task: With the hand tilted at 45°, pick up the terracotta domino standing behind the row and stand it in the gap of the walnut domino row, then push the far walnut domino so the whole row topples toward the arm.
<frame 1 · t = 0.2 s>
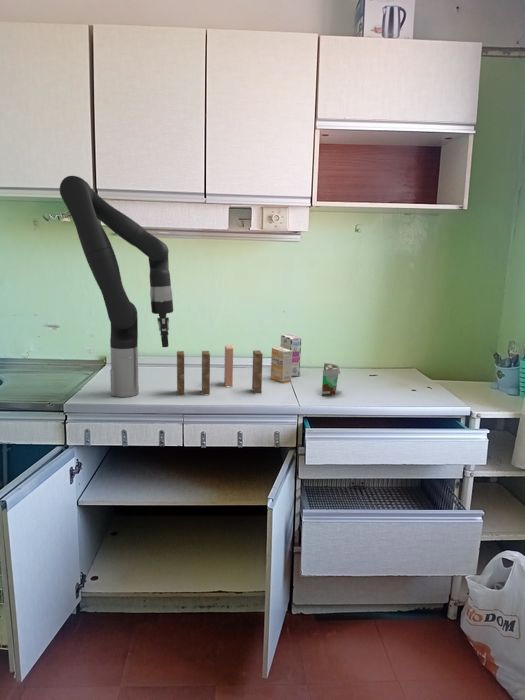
hand: (165, 344, 175), 18 cm above the worktop, tool pointing down, fingers open, 8 cm apart
middle walnut tile: (205, 392, 180), on the worktop
near walnut tile: (180, 393, 179), on the worktop
candy bar box: (289, 374, 211), on the worktop
supplement box: (280, 380, 201), on the worktop
food container: (330, 393, 185), on the worktop
far walnut tile: (256, 391, 184), on the worktop
terracotta tile: (228, 384, 192), on the worktop
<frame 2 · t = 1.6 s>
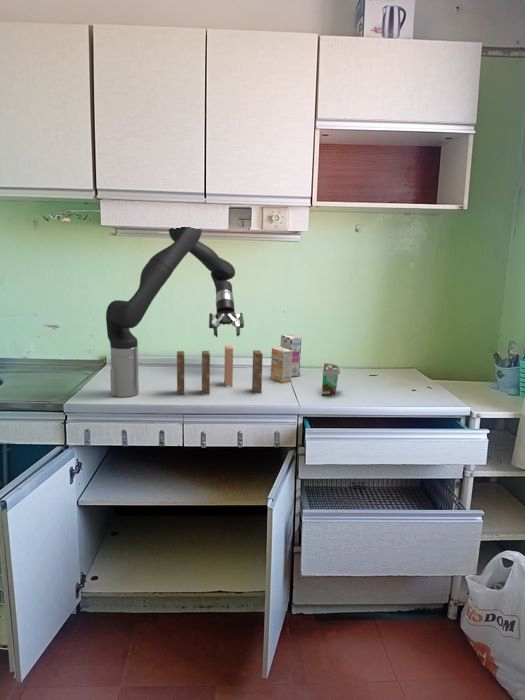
hand: (227, 335, 199), 18 cm above the worktop, tool tilted 45°, fingers open, 8 cm apart
nothing on the worktop moved.
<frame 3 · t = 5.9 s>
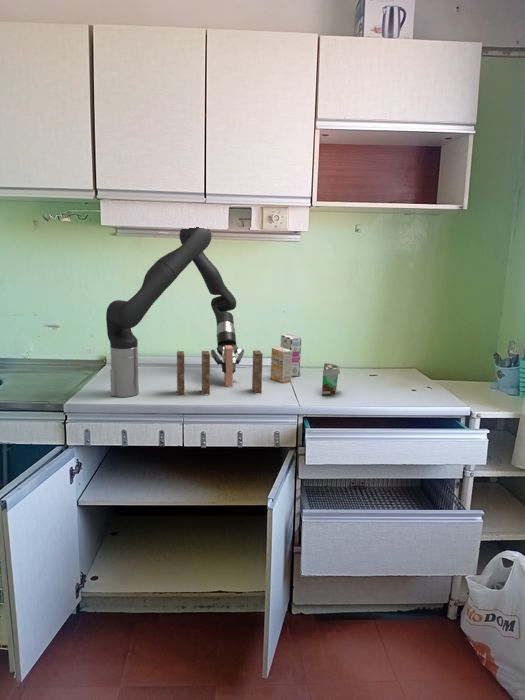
hand: (229, 372, 189), 5 cm above the worktop, tool tilted 45°, fingers closed on terracotta tile, 2 cm apart
terracotta tile: (228, 384, 192), on the worktop, touching gripper
everything else where it was.
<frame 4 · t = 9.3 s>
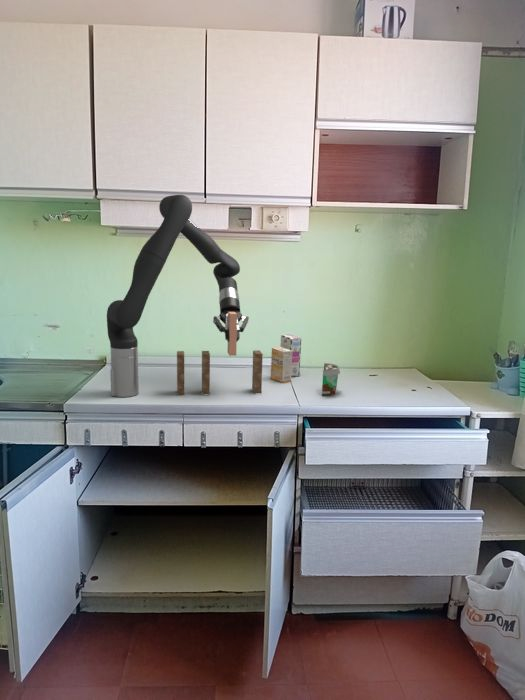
hand: (232, 340, 176), 20 cm above the worktop, tool tilted 45°, fingers closed on terracotta tile, 2 cm apart
terracotta tile: (231, 353, 179), point 14 cm above the worktop, touching gripper
everything else where it was.
when the fingers open (7 cm above the worktop, at t = 12.8 s): terracotta tile drops 1 cm, on the worktop.
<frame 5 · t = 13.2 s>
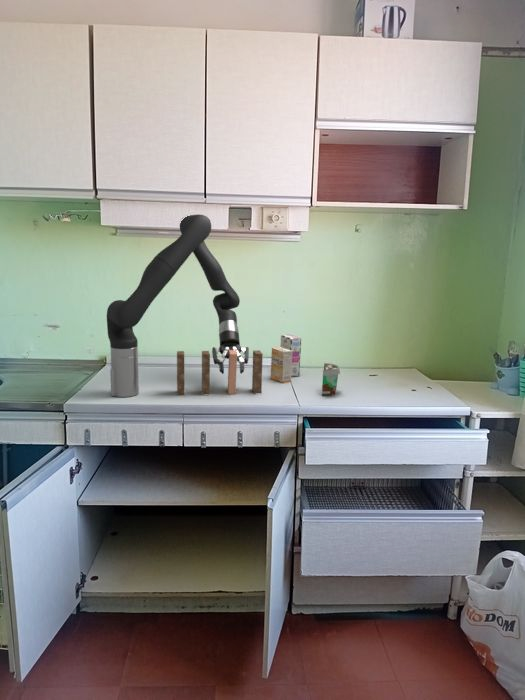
hand: (232, 372, 179), 8 cm above the worktop, tool tilted 45°, fingers open, 6 cm apart
terracotta tile: (231, 391, 182), on the worktop
everything else where it was.
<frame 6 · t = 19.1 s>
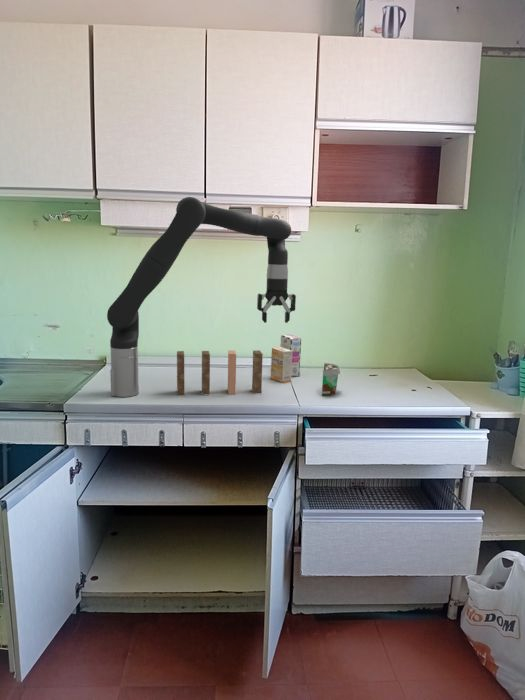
hand: (275, 322, 180), 26 cm above the worktop, tool pointing down, fingers open, 7 cm apart
nothing on the worktop moved.
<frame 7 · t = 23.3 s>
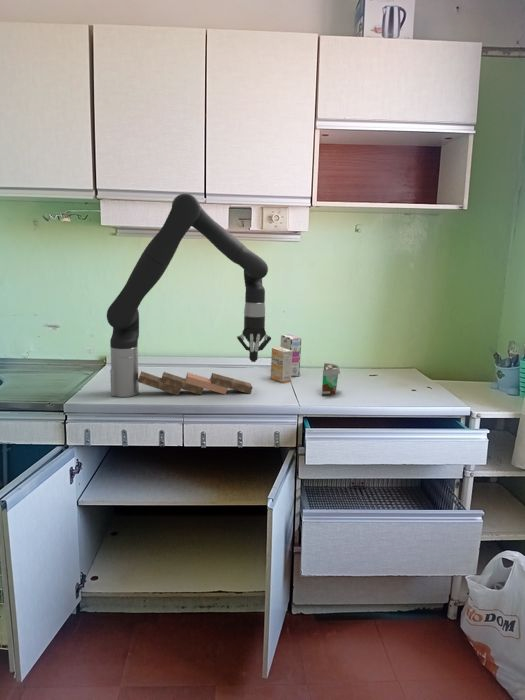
hand: (253, 361, 181), 11 cm above the worktop, tool pointing down, fingers closed
middle walnut tile: (202, 389, 180), point 1 cm above the worktop, tilted 71°, touching near walnut tile, terracotta tile
near walnut tile: (179, 390, 178), point 1 cm above the worktop, tilted 69°, touching arm, middle walnut tile
far walnut tile: (250, 388, 183), point 1 cm above the worktop, tilted 73°, touching terracotta tile
terracotta tile: (225, 389, 182), point 1 cm above the worktop, tilted 72°, touching far walnut tile, middle walnut tile
everything else where it was.
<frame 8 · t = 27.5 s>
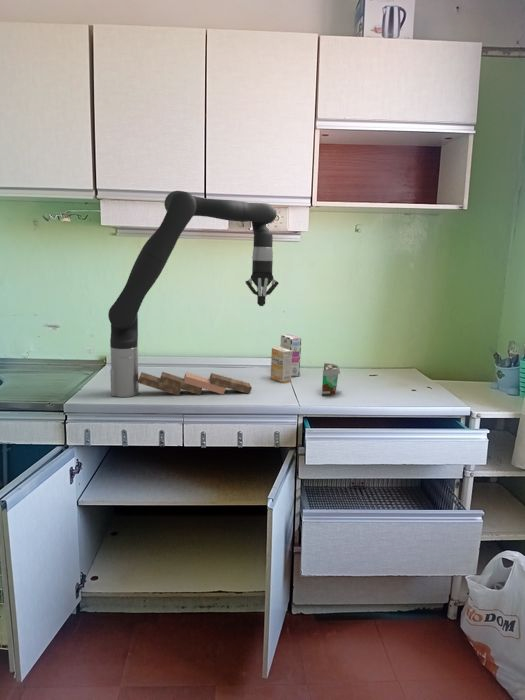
hand: (261, 305, 187), 31 cm above the worktop, tool pointing down, fingers closed
at the end: near walnut tile tilted 70°; terracotta tile tilted 72°; terracotta tile inside the target area (2.7 cm from its centre), point 1.2 cm above the worktop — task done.
